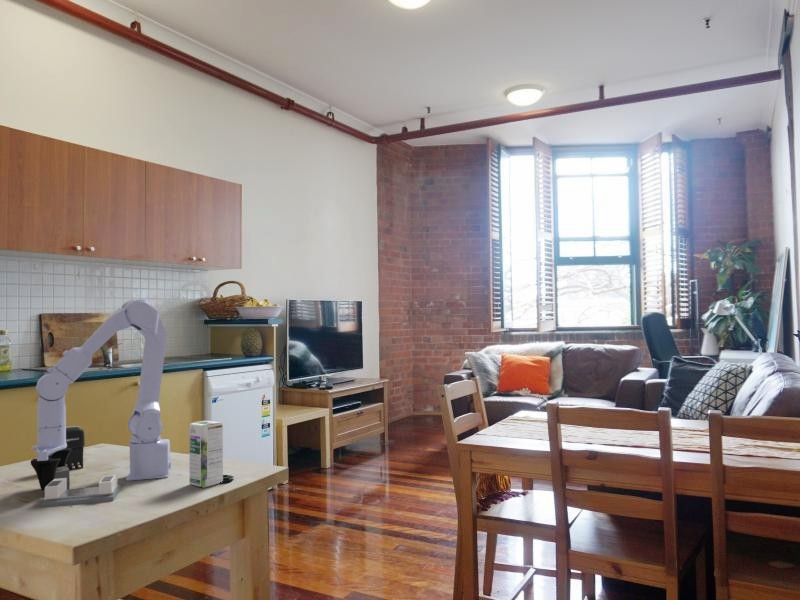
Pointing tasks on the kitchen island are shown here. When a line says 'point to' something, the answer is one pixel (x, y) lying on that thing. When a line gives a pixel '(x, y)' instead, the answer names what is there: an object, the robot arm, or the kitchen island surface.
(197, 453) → the syrup box
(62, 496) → the board
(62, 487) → the mounted modules
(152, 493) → the kitchen island surface
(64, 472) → the dice cube
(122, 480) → the kitchen island surface
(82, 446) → the battery charger
